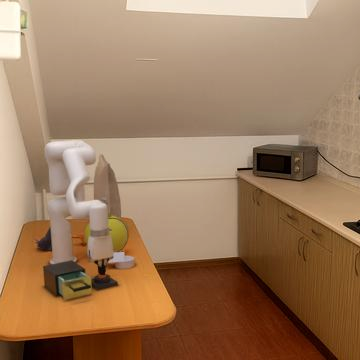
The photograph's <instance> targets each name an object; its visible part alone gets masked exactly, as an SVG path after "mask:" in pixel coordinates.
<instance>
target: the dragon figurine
mask: <svg viewBox="0 0 360 360" xmlns="http://www.w3.org/2000/svg"><path fill="white" fill-rule="evenodd" d="M85 230H86V228H84V230H83V231H82V233H81V234H72V239H80V241H81V244H82V245H83V246H85V244H86V242H85V240H84V233H85ZM34 241H35V242H34V243H35V244H36V247H37V248H39V249H40V250H42V251H52V240H51V227H50V226H49V228H48V230H47V231H46V233H45V235H44V237H42V238H41V239H40V240H38V239H36V238H34Z"/></svg>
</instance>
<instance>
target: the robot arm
mask: <svg viewBox="0 0 360 360" xmlns="http://www.w3.org/2000/svg"><path fill="white" fill-rule="evenodd" d="M43 150H44V151H43V152H44V159H45V161H46V164H47V166H48V185H49V191H50V194H51V195H53V196H60V197H55V198H52V199H50V200H49V201H48V202H47V204H46V210H47V214H48V218H49V225H50V226H49V228H50V227H51V240H52V250H51V251H52V258H50V260H49V265H51V264H56V263H61V262H66V261H71V260H72V261H74V262H75V263H77V261H78V258H77V257H76V256H74V246H73V245H74V244H73V238H72V235H73V231H72V224H71V223H70V221H69V220H68V219H67V218H69V217H71V218H72V219H73V220H75V221H81V220H88V219H89V224H90V234H91V236H89V238H88V246H87V258H88V263H89V264H95V265H96V266H97V272H98V273H97V274H100V275H105V273H106V272H107V265H108V264H109V263H108V261H109V260H111V259H113V258H114V257H113V244H112V239H111V235H110V234H109V232H110V231H112V229H111V228H109V226H108V208H107V205H106V204H105V203H102V202H101V201H99V200H94V199H91V200H86V192H85V191H86V190H85V185H87V183H88V182H89V181H90V180H91V176H90V173H89V170H88V167H87V166H91V165H94V164H95V163H96V161H97V154H96V152H95V149H94V148H93V147H92V146H91V145H89V144H88V143H86V142H85V141H83V140H81V139H70V140H56V141H50V142H48V143H47V144H46V145H45V146H44V149H43Z"/></svg>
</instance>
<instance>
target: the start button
mask: <svg viewBox="0 0 360 360" xmlns="http://www.w3.org/2000/svg"><path fill="white" fill-rule="evenodd" d="M106 274H107V273H106V272H105V275H100V274H99V273H97V275H98V278H106Z"/></svg>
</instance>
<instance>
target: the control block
mask: <svg viewBox="0 0 360 360" xmlns="http://www.w3.org/2000/svg"><path fill="white" fill-rule="evenodd" d="M91 284H92V289H95V290H96V291H102V290H105V289H110V288H114V287H118V286H119V281H117V280H115V279H114V278H112V277H111V275H110V274H107V273H106V278H98V274H97V275H94V277H91Z"/></svg>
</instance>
